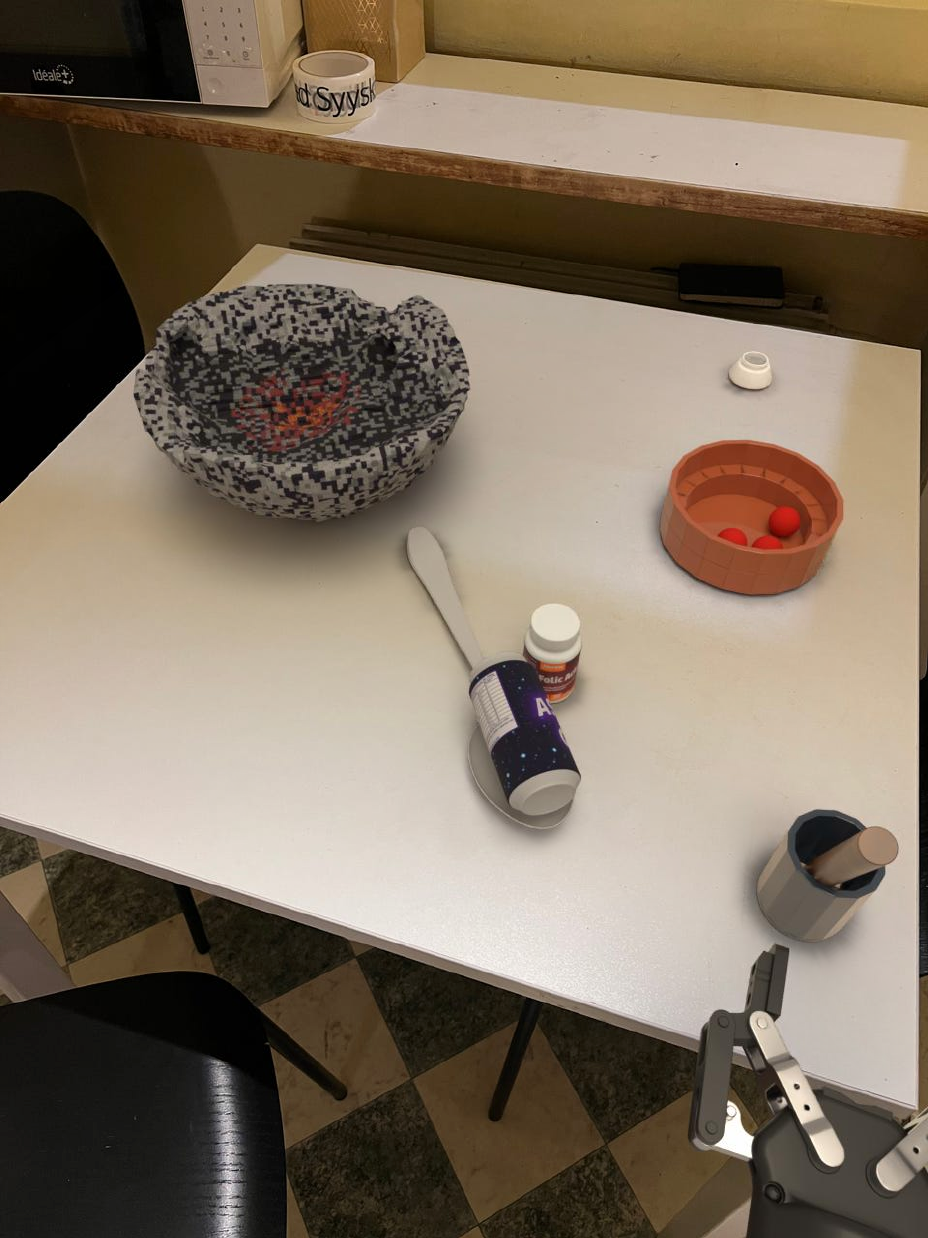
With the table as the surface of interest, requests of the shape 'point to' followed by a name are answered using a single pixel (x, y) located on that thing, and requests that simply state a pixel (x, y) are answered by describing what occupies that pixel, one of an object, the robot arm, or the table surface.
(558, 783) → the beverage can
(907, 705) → the table surface
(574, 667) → the pill bottle
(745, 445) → the stew bowl
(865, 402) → the table surface
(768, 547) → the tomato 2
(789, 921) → the holder
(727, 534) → the tomato
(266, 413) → the bowl
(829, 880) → the stick
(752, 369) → the lidless jar
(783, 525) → the red ball
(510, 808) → the spoon
